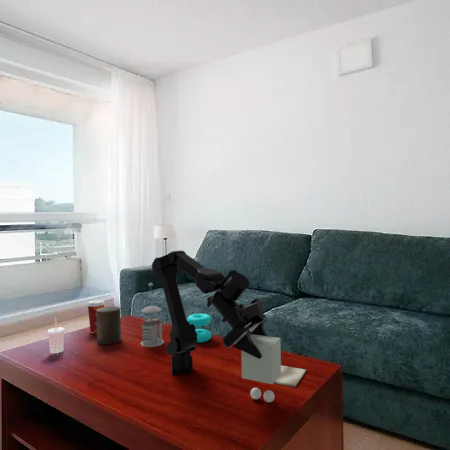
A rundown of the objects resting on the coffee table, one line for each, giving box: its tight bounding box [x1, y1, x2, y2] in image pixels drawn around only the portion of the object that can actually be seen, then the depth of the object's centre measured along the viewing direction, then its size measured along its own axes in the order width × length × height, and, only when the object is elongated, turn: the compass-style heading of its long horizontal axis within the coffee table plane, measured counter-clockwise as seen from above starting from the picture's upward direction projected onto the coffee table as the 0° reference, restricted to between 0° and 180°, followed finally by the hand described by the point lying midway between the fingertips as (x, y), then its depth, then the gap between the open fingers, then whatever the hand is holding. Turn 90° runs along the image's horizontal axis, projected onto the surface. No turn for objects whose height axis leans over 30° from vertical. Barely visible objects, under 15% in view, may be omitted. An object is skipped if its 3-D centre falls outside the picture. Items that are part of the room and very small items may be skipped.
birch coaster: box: [273, 364, 307, 388], centre depth 114 cm, size 12×12×1 cm
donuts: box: [186, 313, 212, 344], centre depth 151 cm, size 10×10×10 cm
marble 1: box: [249, 387, 262, 400], centre depth 100 cm, size 3×3×3 cm
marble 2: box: [263, 389, 275, 403], centre depth 98 cm, size 3×3×3 cm
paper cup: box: [86, 299, 106, 333], centre depth 164 cm, size 8×8×14 cm
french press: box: [139, 282, 166, 348], centre depth 147 cm, size 10×12×25 cm
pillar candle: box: [96, 305, 122, 345], centre depth 152 cm, size 10×10×15 cm
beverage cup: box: [47, 316, 66, 353], centre depth 139 cm, size 6×6×14 cm
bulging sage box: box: [240, 334, 282, 385], centre depth 99 cm, size 9×7×10 cm
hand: (265, 352), depth 98 cm, fingers closed on bulging sage box, 7 cm apart
